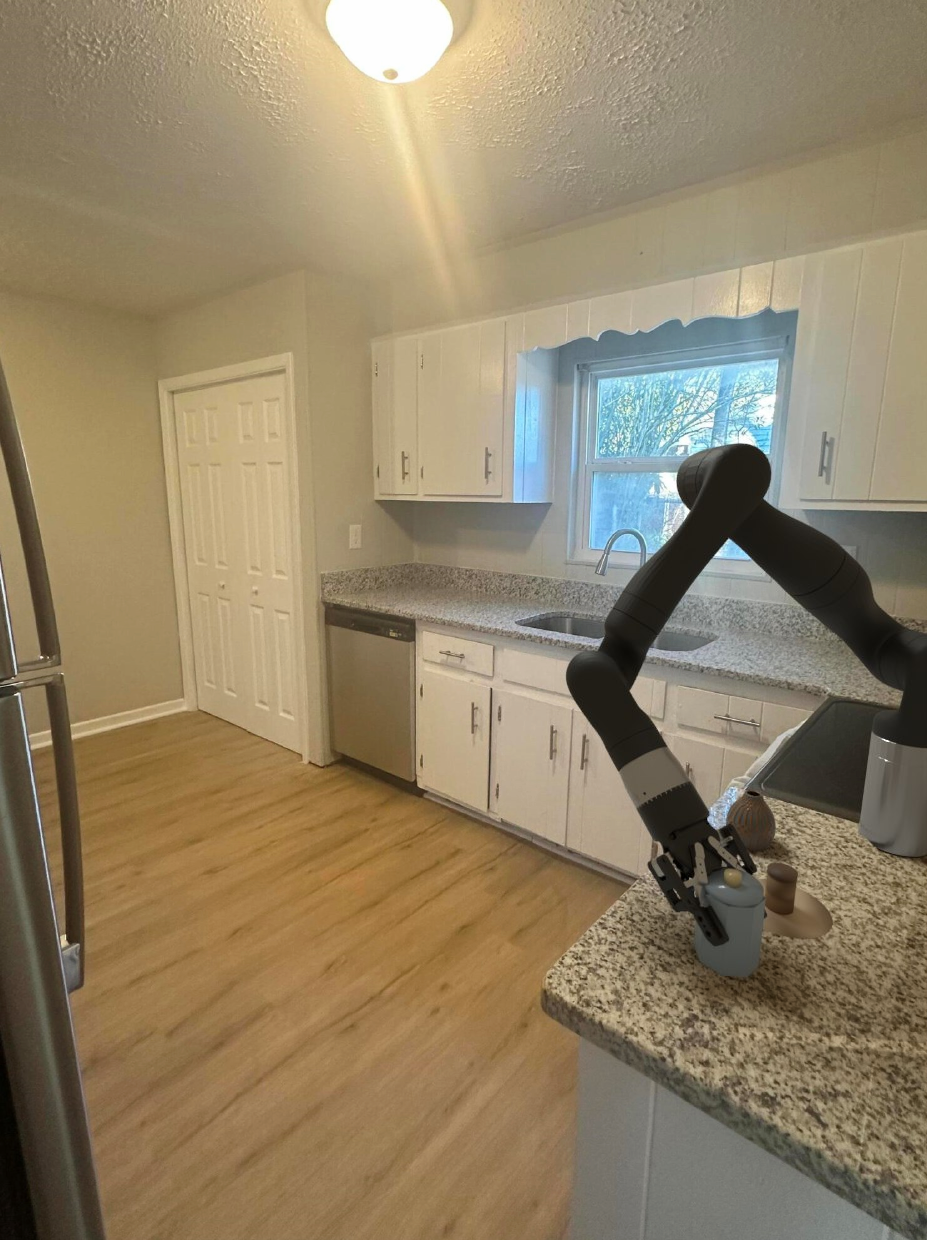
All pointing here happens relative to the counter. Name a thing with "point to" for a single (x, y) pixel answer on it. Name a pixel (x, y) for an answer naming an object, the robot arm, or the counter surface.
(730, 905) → the octagonal knobbed canister
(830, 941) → the counter surface
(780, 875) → the spice jar
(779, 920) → the trivet
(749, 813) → the vase
